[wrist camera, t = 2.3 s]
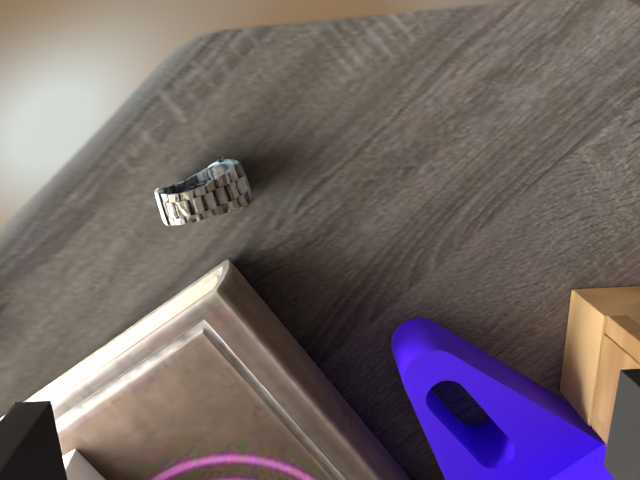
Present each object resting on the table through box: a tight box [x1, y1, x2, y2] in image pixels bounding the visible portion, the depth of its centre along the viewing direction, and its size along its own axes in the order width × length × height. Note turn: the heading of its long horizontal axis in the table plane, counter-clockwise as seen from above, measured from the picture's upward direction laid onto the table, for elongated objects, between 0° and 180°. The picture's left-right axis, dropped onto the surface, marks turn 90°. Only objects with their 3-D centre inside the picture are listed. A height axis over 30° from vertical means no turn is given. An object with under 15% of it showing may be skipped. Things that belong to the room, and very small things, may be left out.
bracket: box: [391, 318, 615, 480], centre depth 33 cm, size 18×11×12 cm, turn 40°
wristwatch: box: [155, 156, 253, 226], centre depth 30 cm, size 3×5×5 cm
